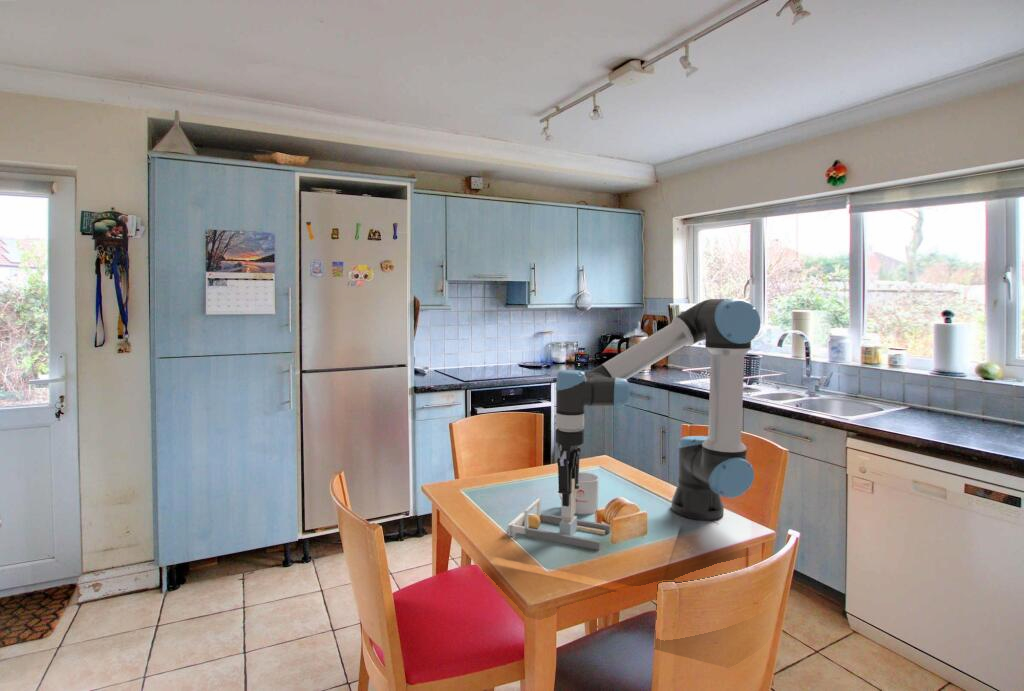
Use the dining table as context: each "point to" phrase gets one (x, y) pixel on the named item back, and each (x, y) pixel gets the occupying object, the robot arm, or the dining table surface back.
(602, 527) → the pitch side rails
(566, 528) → the post
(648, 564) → the dining table surface
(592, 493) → the mug
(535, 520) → the ball
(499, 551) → the dining table surface
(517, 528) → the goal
